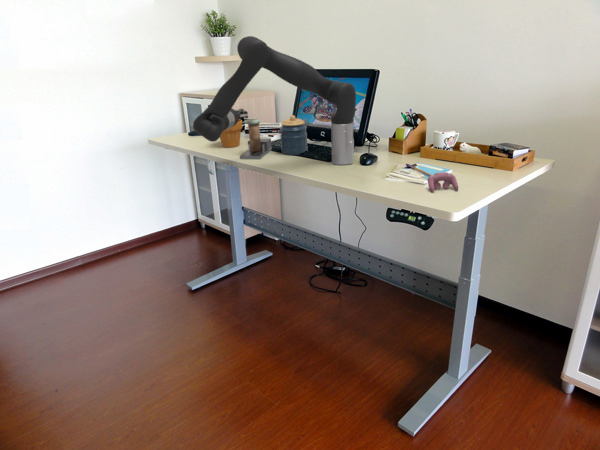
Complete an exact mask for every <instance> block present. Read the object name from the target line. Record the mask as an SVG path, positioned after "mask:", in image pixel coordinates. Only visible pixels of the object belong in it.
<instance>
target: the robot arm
mask: <svg viewBox="0 0 600 450" xmlns="http://www.w3.org/2000/svg"><path fill="white" fill-rule="evenodd" d="M236 47H237V54H238V56H239V58H240V59H241V62H240V63H239V66H238V67H237V69H236V71H234V73H233V74H232V75H231V77H230V78H229V79H227V81H226V82H224V83H223V84H222V86H220V88H219V89H218V91H217V93H215V96H214V97H213V99H212V101H211V102H210V104H209V105H208V106H207V107H206V108H205V110H204V111H202V112H201V113H200V114H199V115H198V116H197V117H196V118H195V119H194V120H193V124H192V128H193V130H194V131H195V133H197V134H199V136H201V137H203V138H204V139H205V140H207V141H208V142H211V143H212V142H213V143H214V142H217V141H219V139H220V136H221V133H222V132H223V131H224V130H227V129H229V128H231V127H233V126H235V125H236V124H237V122H238V120H239V119H241V120H242V118H243V119H249V114H248V111H247V110H244V109H243V108H239V109H235V108H233V106H234V105H235V104H236V102H237V100H238V99H239V97H240V96H241V94H243V91H244V90H245V88H246V87H247V86H248V85H249V84H250V83H251V81H252V80H253V79H254V78H255V76H256V75H257V74H258V73H259V72H260V71H261V69H265V70H267V71H269V72H270V73H272V74H273V75H275V76H277V77H278V78H279V79H282V80H283V81H284V82H287V83H288V84H290V85H292V86H294V87H297V88H299V89H302V90H303V91H306V92H309V93H313V94H315V95H317V96H319V97H321V98H323V99H324V100H325V101H327V102H328V103H330V104H332V105H335V106H336V112H335V113H334V114H332V115H331V118H330V124H331V125H330V127H331V128H330V129H331V131H330V132H331V133H330V134H331V137H330V138H331V163H332V164H333V165H337V166H338V165H339V166H346V165H352V164H353V163H354V161H355V139H354V117H355V115H356V106H357V105H356V104H357V102H356V101H357V94H356V93H357V92H356V89H355V86H354V85H353V84H352V83H349V82H343V81H336V80H333V79H330V78H327V77H325V76H323V75H322V74H321V73H319V71H317V69H316V68H315V67H313V66H312V65H310V64H308V63H306V62H305V61H303V60H301V59H298V58H296V57H293V56H291V55H289V54H286V53H282V52H280V51H278V50H275V49H274V48H271V46H268V45H267V43H266V42H265V41H263V40H261V39H260V38H258V37H256V36H252V35H251V36H245V37H242V38H241V39H240V40H239V41H238V44H237V46H236Z"/></svg>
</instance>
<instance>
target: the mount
mask: <svg viewBox="0 0 600 450" xmlns="http://www.w3.org/2000/svg"><path fill="white" fill-rule="evenodd" d="M260 142H261V151H258V152H252V151H251V146H250V139H249V140H248V141H247V148H248V149H247V150H246V151H244V152H243V153H241V154H240V155H239V160H261V159H263V158H264V157H265V156H266V155H267V154H269V152H271V151H272V150H273V148H272V139H271V138H260Z"/></svg>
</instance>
